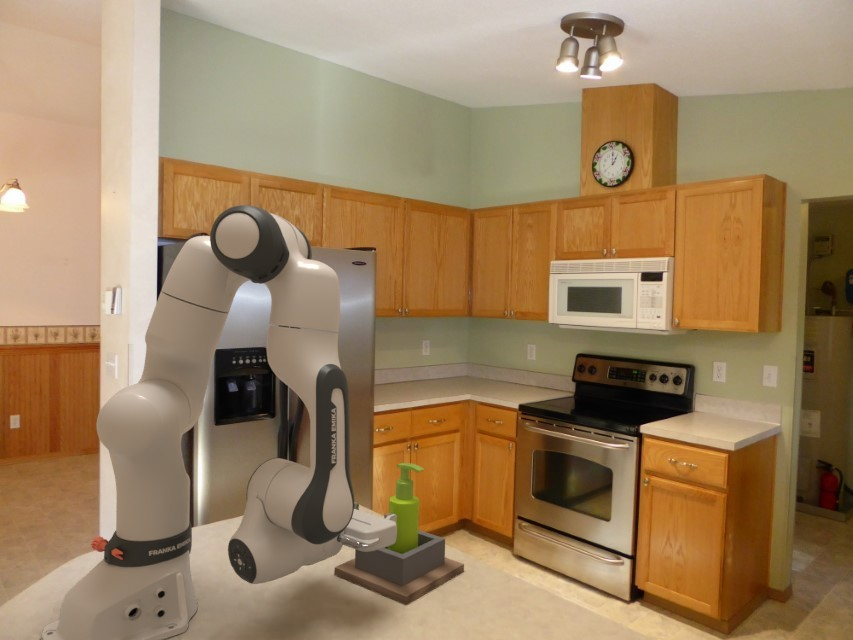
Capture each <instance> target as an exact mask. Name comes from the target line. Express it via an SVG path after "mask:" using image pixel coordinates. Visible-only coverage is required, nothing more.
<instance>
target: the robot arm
mask: <svg viewBox="0 0 853 640" xmlns="http://www.w3.org/2000/svg"><path fill="white" fill-rule="evenodd" d="M312 255H313V251H312V246H311V244H310V241H309V239H308V238H307V236H306V235H305V233H304V232H303V231H302V230H301V229H300V228H298V227H297V226H295V225H294V224H292V223H291V222H290V221H288V220H287V219H285V218H284V217H283V216H280V215H278V214H275V213H271V212H269V211H268V210H266V209H263V208H262V207H259V206H256V205H255V206H254V205H248V204H246V205H245V204H242V205H241V204H239V205H235V206H232V207H230V208H228V209H225V210H224V211H223V212H221V213H220V214H219V215H218V217H217V218H216V219H215V220H214V222H213V224H212V226H211V229H210V234H209V235H199V236H197V235H196V236H194V237H192V238H190V239H188V240H186V242H185V243H184V245H183V246H182V248H181V249H180V251H179V252H178V254H177V255H176V258H174V259H175V260H173V263H172V265H171V267H170V269H169V271H168V273H167V275H166V278H165V280H164V282H163V285H162V287H161V290H160V293H159V295H158V299H157V300H156V304H155V307H154V310H153V311H152V315H151V318H150V321H149V323H148V326H147V329H146V332H145V335H144V340H145V345H146V348H145V358H144V364H143V365H144V366H143V371H142V375H141V377H140V379H139V380H138V382H137V383H134V384H131V385H128V386H126V387H124V388H122V389H120V390H119V391H117V392H116V393H114V394H113V395H112V396H111V397H110V399H108V400H107V401H106V403H104V405H103V406H102V407H101V408H100V410H99V412H98V414H97V418H96V433H97V436H98V438H99V441H100V443H102V445H103V446H104V447H105V448H106V450H107V451H108V453H109V457H110V462H111V465H112V469H113V474H114V480H115V486H116V487H115V488H116V502H115V505H116V507H115V509H116V510H115V511H116V515H115V518H116V520H115V521H116V523H115V527H116V528H115V531H114V532H113V534H112V536H111V538H110V539H109V540H108V539H106V538H104V537H103V536H95V538H93V539H92V541H91V542H90V543H91V544H90V547H91V549H93V550H95V551H96V552H98V553H102V552H103V558H102V559H101V560H100V562H98V563H97V564H96V565H95V566H93V568H92V569H91V570H89V572H88V573H86V574H85V576H83V577H82V578H81V579H80V580H79V581H77V583H76V584H75V585H73V586H72V587H71V588H69V590H67V592H66V594H64V597H63V600H62V604H61V606H60V607H61V608H60V610H59V617H58V619H57V620H55V621H53V622H50V623H48V624H47V625H45V626H44V628H43V629H42V633H41V640H165V639H168V638H171V637H173V636H176V635H179V634H182V633H183V634H184V633H185V632H186V631H187V630H188V627H189V622H190V620H191V618H192V617H193V616H194V615H195V614H196V612H197V611H198V607H199V604H198V601H197V597H196V594H195V590H194V585H193V580H192V571H191V560H190V559H191V558H190V554H191V551H192V546H193V545H192V544H193V533H192V532H193V527H192V523H191V522H190V509H191V508H190V507H191V506H190V505H191V504H190V501H191V499H190V498H191V497H190V496H191V479H190V476H189V474H188V473H187V470H186V466H185V461H184V457H183V451H182V439H183V435H185V433H187V432H188V431H190V430H191V429H192V428H193V427H194V426H195V425H196V423H197V422H198V421H199V419H200V416H201V414H202V411H203V408H204V403H205V402H204V401H205V398H206V392H207V388H208V385H209V379H210V375H211V368H212V363H213V359H214V356H215V352H216V349H217V347H218V344H219V342H220V339H221V335H222V332H223V330H224V327H225V325H226V322H227V319H228V317H229V313H230V310H231V307H232V305H233V303H234V302H233V301H234V298H235V296H236V294H237V292H238V290H239V289H240V287H241V286H243V284H245V283H246V282H249V281H251V282H252V283H254V284H260V285H261V284H264V286H265V287H267V289H268V290H269V293H270V298H271V305H270V315H269V322H268V329H267V335H266V336H267V337H266V346H265V347H266V357H267V358H266V359H267V363H268V365H269V367H270V369H271V371H272V372H273V373H274V375H275V376H276V377H277V378H278V379H279V380H280V381H281V382H282V383H283V384H285V385H286V386H288V388H290V389H291V390H292V391H293V392H294V393H295V394H296V395H297V396H298V397H299V398H300V399H301V401H302V402H303V404H304V405H305V407H306V410H307V412H308V415H309V421H310V422H309V423H310V428H309V429H310V430H309V431H310V439H309V441H310V444H309V445H310V446H309V447H310V448H309V449H310V450H309V451H310V453H309V454H310V457H309V461H310V462H309V467H308V466H305V465H303V464H301V463H298V462H294V461H291V460H288V459H285V458H281V457H274V458H269V459H268V460H266V461H264V462H263V463H261V464H259V466H258V467H257V468H256V469H255V470H254V472H253V473H252V474H251V476H250V477H249V480H248V484H247V487H246V505H245V508H244V512H243V516H242V518H241V521H240V524H239V526H238V527H237V530H236V531H235V532H234V533H233V534H232V536H231V537H230V540H229V541H228V546H227V554H228V555H227V556H228V560H229V564H230V566H231V567H232V570H234V572H235V574H236V575H237V577H239V578H240V579H241V580H244V581H245V582H247V583H249V584H251V585H260V584H265V583H268V582H273V581H275V580H279V579H281V578H284V577H287V576H289V575H291V574H293V573H295V572H297V571H298V570H300V569H301V567H303V566H304V567H305V566H307V567H308V566H313V565H315V564H317V563H320V562H322V561H325V560H327V559H330V558H332V557H334V556H337V555H338V554H339V552H341V550H342V548H343V546H346V547H348V548H350V549H354V550H355V549H356V550H359V551H363V552H370V551H375V550H378V549H382V548H385V547H388V546H390V545H393V544H394V543H395V542H396V538H397V525H396V520H397V516H396V515H395V514H391V513H389V512H388V513H385V514H384V517H381V516H378V515H376V514H372V513H369V512H366V511H362V510H360V504H359V503H358V502H355V495H354V488H353V487H354V486H353V483H352V482H353V481H352V477H351V465H350V464H351V463H350V462H351V460H350V459H351V454H350V452H351V451H350V450H351V449H350V448H351V447H350V445H351V443H350V442H351V441H350V440H351V439H350V437H351V436H350V435H351V434H350V432H351V431H350V425H351V423H350V421H351V419H350V393H349V392H350V391H349V384H348V383H349V382H348V379H347V376H346V374H345V372H344V371H343V370H342V367H341V366H342V365H341V364H340V363H341V362H340V357H339V345H338V344H339V341H338V340H339V332H340V331H339V330H340V321H341V290H340V280H339V276H338V274H337V272H336V271H335V270H334V269H333V268H332V267H331V266H329V265H328V264H326V263H324V262H321V261H319V260H315V259H312V258H313V256H312Z"/></svg>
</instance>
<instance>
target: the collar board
mask: <svg viewBox="0 0 853 640" xmlns="http://www.w3.org/2000/svg"><path fill="white" fill-rule="evenodd" d="M354 550H355V551H354V552H355V553H354V558H352V559H350V560H348V561H345V562H343V563H340V564H338V565H335V566H334V573H333V574H334V576H336V577H338V578H341V579H343V580H346V581H349V582H350V583H352V584H355V585H357V586H360V587H362V588H365V589H367V590H369V591H371V592H374V593H376V594H378V595H381V596H384V597H385V598H388V599H391V600H393V601H395V602H398V603H400V604H403V605H405V606H407V605H409V604H411V603H412V602H414V601H417V599H419V598H421V597H422V596H424V595H426V594H427V593H429V592H431V591H433V590H435V589H436V588H438V587H439V586H442V585H444V584H445V583H447V582H448V581H450V580H451V579H454V578H455V577H457V576H459V575H460V574H462V573H464V572H465V563H462V562H460V561H456V560H453V559H451V558H448V557H446V538H444V537H441V536H437V535H435V534H432V533H429V532H427V531H426V532H425V531H423V530H420V529H418V547H417V548H415V549H412V550H410V551H408V552H406V553H404V554H400V553H397V552H394V551H392V550H389V549H388V547H385V548H382V549H378V550H375V551H370V552H363V551H359V550H356V549H354Z"/></svg>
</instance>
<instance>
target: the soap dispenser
mask: <svg viewBox="0 0 853 640" xmlns="http://www.w3.org/2000/svg"><path fill="white" fill-rule="evenodd" d="M396 468H397V469H400V478H398V479H397V480H396V482H395V494H394V495H392V496H390V497H389V500H388V513H391V514H395V515H396V516H397V520H396V525H397V538H396V542H395V543H394V544H393V545H390V546H388V549H389V550H392V551H394V552H397V553H400V554H404V553H406V552H408V551H410V550H412V549H415V548H417V547H418V530H419V525H420V524H419V520H420V517H419V516H420V515H419V514H420V498H419V497H418V496H416V495H414V480H412V479H411V478H410V471H413V472H416V473H420V472H423V471H424V470H425V468H423V467H422V466H420V465H417V464H415V463H410V462H409V463H408V462H401V463H398V464H396Z"/></svg>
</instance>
